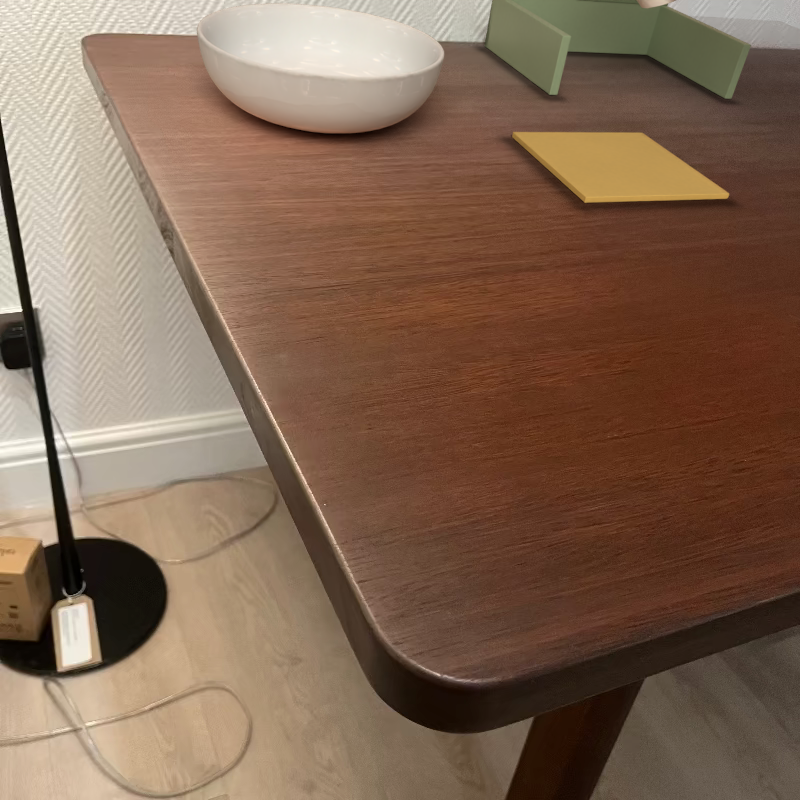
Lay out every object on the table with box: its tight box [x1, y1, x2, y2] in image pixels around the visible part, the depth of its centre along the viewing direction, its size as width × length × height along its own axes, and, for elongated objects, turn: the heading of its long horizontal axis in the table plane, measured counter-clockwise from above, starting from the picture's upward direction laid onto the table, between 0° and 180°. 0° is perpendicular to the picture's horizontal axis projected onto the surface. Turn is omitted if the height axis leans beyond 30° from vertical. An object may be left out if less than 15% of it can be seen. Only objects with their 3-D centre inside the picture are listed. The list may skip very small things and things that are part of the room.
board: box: [511, 131, 730, 204], centre depth 71 cm, size 14×14×1 cm
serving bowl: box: [196, 2, 445, 134], centre depth 71 cm, size 21×21×7 cm
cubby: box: [483, 0, 752, 100], centre depth 95 cm, size 24×18×7 cm
